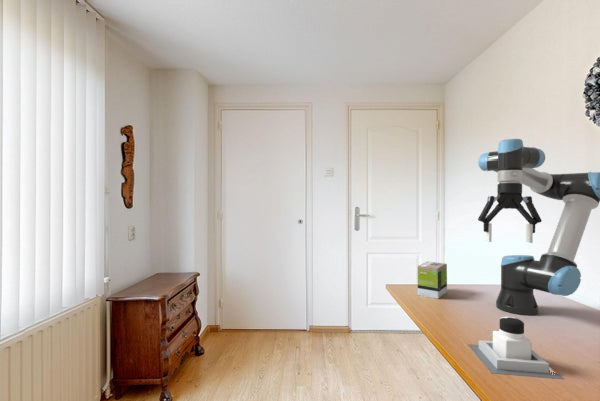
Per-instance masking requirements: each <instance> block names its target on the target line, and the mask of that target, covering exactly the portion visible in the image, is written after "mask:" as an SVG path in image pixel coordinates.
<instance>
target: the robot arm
mask: <svg viewBox="0 0 600 401" xmlns="http://www.w3.org/2000/svg"><path fill="white" fill-rule="evenodd" d="M478 157H479V158H478V162H477V164H478V167H479V169H480V170H482V171H483V172H492V171H493V172H496V173H497V182H498V184H497V195H496V196H493V195H489V196H487V201H486V204H485V205H484V207H483V209H482V211H481V213H480V214H479V216H478V217H477V221H479V222H482V223H483V233H484V232H485V241H486V242H489V243H491V242H492V235H493V234H492V229H493V228H492V227H493V226H492V225H493V224H492V223H490V222H491V221H492V220H493V219H494V218H495V217H497V215H498V214H499V213H500V212H501V211H502V210H503V209H504V210H505V209H506V210H507V209H510V210H511V209H512V210H514V209H515V210H517V211H518V212H519V213H520V215H521V216H522V217H523V218H524V220H526V222H528V223H526V225H525V226H526V227H525V228H526V229H525V232H526V233H525V241H526V242H525V243H529V244H530V243H531V244H533V242H534V240H533V236H534V235H533V234H535V233H536V225H537V224H539V223H542V222H543V220H542V218H541V217H540V215H539V214H540V213H539V212H538V211H537V209H536V207H535V205H534V203H533V197H532V196H528V195H527V196H523V186H526V187H529V189H530V190H531V191H532V192H534V193H536V194H537V195H540V196H543V197H546V198H549V199H551V200H552V199H553V200H555V201H556V200H557V201H562V202H563V203H564V207H563V209H562V211H561V215H560V217H559V220H558V223H557V225H556V228H555V230H554V233H553V234H554V235H553V237H552V240H551V242H550V244H549V246H548V250H547V252H545V253H542V254H541V256H540V258H539V260H535V257H534V256H533V255H530V254H529V255H528V254H527V255H524V254H522V255H521V254H519V255H518V254H516V255H515V254H513V255H505V256H503V257H501V263H500V264H501V265H500V291H499V293H498V296H497V298H496V301H495V307H496V308H498V309H499V310H501V311H504V312H507V313H512V314H517V315H523V316H524V315H525V316H534V315H537V314H539V306H538V303H537V300H536V298H535V295H534V290H537V291H539V292H540V291H541V292H545V293H549V294H551V295H556V296H563V297H566V296H570V295H573V294H574V293H575V292H576V291H577V290H578V288H579V287H580V284H581V281H582V279H581V277H582V273H581V271H580V269H579V268H578V264H577V263H576V261H575V258H576V256H577V253H578V249H579V248H580V244H581V241H582V238H583V235H584V232H585V230H586V227H587V224H588V221H589V218H590V215H591V212H592V210H595V209H596V208H598V207H599V204H600V172H598V171H595V172H592V171H589V172H577V173H576V172H575V173H556V174H555V173H554V174H553V173H549V172H545V171H538V170H537V169H536V168H540V167H541V166H542V165H543V164H544V163H545V161H546V154H545V151H544V150H542V149H541V148H537V147H534V146H533V147H530V146H524V141H523V140H522V138H507V139H503V140H499V142H498V146H497V151H489V152H483V153H482V154H480V155H479V156H478ZM496 201H497V205H495V207H494V208H493V210H492V211H491V212H490V210H491V209H492V206H493V205H494V203H496ZM522 202H523V203H525V207H527V210H528V211H527V210H526V208H525V207H524V206H523V205H522Z"/></svg>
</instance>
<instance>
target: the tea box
mask: <svg viewBox="0 0 600 401" xmlns="http://www.w3.org/2000/svg"><path fill="white" fill-rule="evenodd" d="M447 268H448V265H447V263H445V262H444V263H442V262H435V261H434V262H433V261H426V262H423V263H422V264H419V265H417V296H420V297H426V298H430V299H435V298H436V299H437V300H438V299H440V298H441V297H442V296H444V295H445V294H446V293H447V292H448V271H447Z"/></svg>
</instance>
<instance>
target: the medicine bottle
mask: <svg viewBox="0 0 600 401" xmlns="http://www.w3.org/2000/svg"><path fill="white" fill-rule="evenodd" d="M492 341H493V351H494V352H495V353H496V354H497V355H498V356H499V357H500V358H509V359H522V360H531V350H532V340H530V339H529V338H527V337H526V336H525V323H524V321H523V320H521V319H519V318H516V317H513V316H502V317H500V318H499V330H493V331H492Z"/></svg>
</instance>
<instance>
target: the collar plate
mask: <svg viewBox="0 0 600 401" xmlns="http://www.w3.org/2000/svg"><path fill="white" fill-rule="evenodd" d="M467 346H468V347H469V348H470V349H471V351H472V352H473V353H474V354H475V356H476V357H477V358H478V360H480V362H482V363H483V365H484V366H485V367H486V369H487V370H488V372H490V374H493V375H494V374H495V375H505V376H506V375H509V376H519V377H520V376H521V377H531V378H533V377H534V378H545V379H556V378H557V380H558V379H559V380H565V377H563V376H562V375H561V374H560V373H558V372H557V373H558V374H557V373H554V372H553V375H552V372H551V373H550V370H549V366H550V364H549V362H547V361H546V360H545V359H544V358H542V357H541V356H540V355H539V354H538V353H536V352H535V351H534V350H532V349H531V360H522V359H509V358H500V357H499V356H498V355H497V354H496V353H495V352H494V351H493V340H481V339H479V340H478V344H470V343H467ZM554 374H555V375H554Z"/></svg>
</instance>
